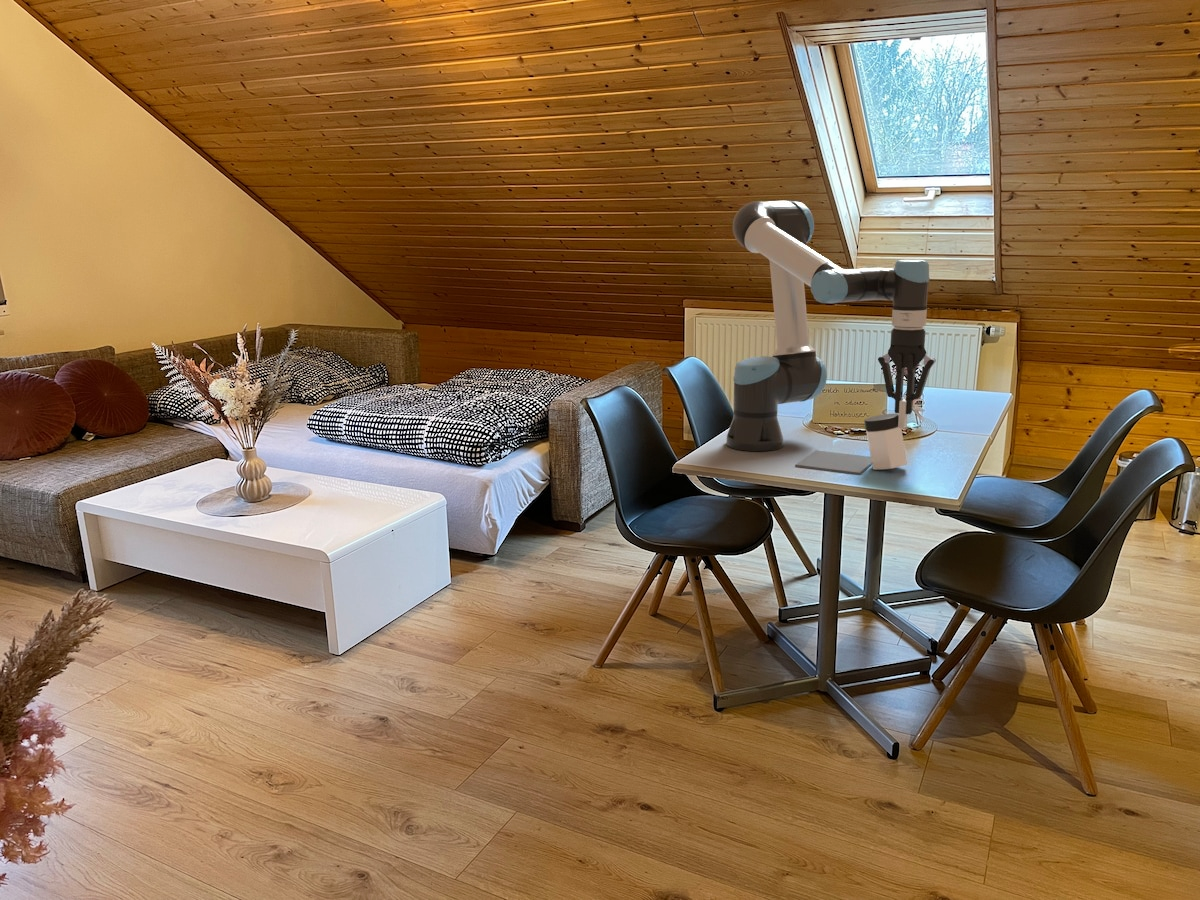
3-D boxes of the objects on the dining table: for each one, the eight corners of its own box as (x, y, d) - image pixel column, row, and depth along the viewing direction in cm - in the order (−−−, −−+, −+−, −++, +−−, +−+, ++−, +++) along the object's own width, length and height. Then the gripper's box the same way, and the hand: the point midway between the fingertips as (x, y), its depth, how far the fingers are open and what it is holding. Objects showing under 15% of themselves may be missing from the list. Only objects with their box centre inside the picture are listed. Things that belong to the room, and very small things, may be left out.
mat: (795, 466, 222) (795, 464, 222) (815, 452, 235) (815, 450, 235) (860, 474, 214) (860, 472, 213) (877, 459, 227) (877, 457, 227)
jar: (914, 460, 217) (906, 412, 216) (899, 468, 212) (891, 419, 210) (880, 462, 224) (871, 415, 222) (865, 470, 218) (856, 422, 216)
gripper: (875, 328, 208) (870, 427, 214) (934, 330, 202) (927, 432, 208) (884, 325, 215) (878, 421, 220) (941, 327, 208) (934, 426, 214)
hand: (902, 426), depth 214 cm, fingers closed
